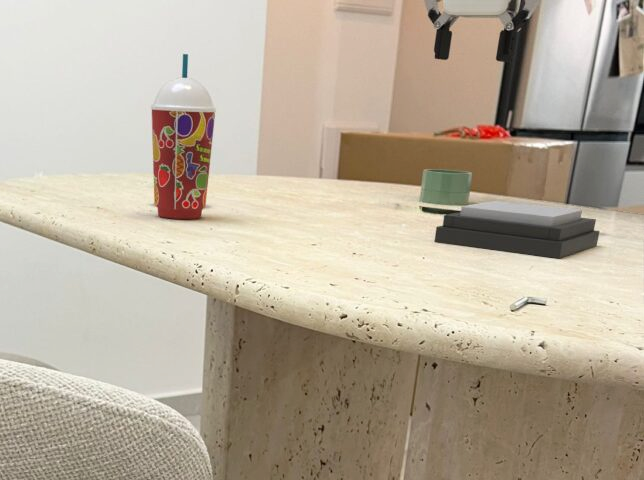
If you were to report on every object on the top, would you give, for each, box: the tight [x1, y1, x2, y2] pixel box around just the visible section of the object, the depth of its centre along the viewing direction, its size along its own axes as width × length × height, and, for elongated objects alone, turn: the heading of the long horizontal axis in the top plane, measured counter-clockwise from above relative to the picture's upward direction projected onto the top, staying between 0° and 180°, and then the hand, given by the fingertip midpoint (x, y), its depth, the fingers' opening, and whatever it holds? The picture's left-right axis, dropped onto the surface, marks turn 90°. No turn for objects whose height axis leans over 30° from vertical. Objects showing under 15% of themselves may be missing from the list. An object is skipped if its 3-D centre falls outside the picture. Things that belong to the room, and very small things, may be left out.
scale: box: [434, 212, 600, 260], centre depth 115 cm, size 15×15×3 cm
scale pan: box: [460, 200, 583, 227], centre depth 115 cm, size 11×11×2 cm
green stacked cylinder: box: [418, 168, 473, 215], centre depth 144 cm, size 7×7×6 cm
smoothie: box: [150, 53, 217, 220], centre depth 122 cm, size 8×8×20 cm
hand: (471, 60), depth 138 cm, fingers open, 9 cm apart
